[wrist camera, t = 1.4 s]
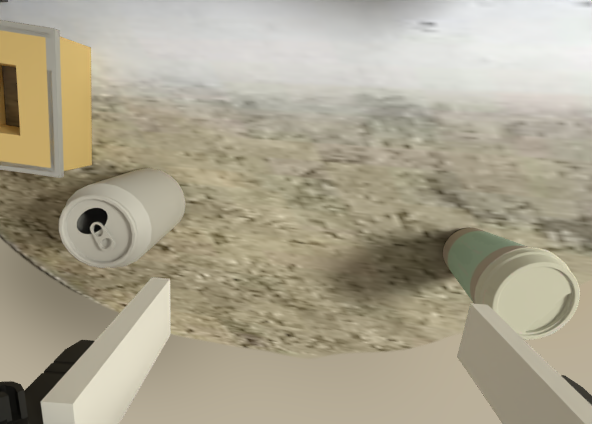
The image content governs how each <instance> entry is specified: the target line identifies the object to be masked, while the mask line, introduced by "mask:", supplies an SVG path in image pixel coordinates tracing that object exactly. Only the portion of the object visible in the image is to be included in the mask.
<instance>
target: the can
mask: <svg viewBox="0 0 592 424" xmlns="http://www.w3.org/2000/svg"><path fill="white" fill-rule="evenodd" d="M184 211H185V198H184V193H183V191H182V189H181V187H180V186H179V184H178V182H177V181H175V180H174V179H173V178H172V177H171V176H170V175H169V174H167V173H165V172H163V171H161V170H158V169H152V168H144V169H138V170H134V171H131V172H128V173H125V174H122V175H118V176H115V177H112V178H109V179H106V180H103V181H99V182H96V183H93V184H90V185H87V186H85V187H83V188H81V189H79V190H77V191H76V192H75V193H74V194H73V195H72V196H71V197H70V198H69V199H68V200H67V203H66V205H65V208H64V209H63V210H62V213H61V215H60V218H59V234H60V237H61V240H62V243H63V244H64V246H65V247H66V249H67V250H68V252H69V253H70V254H71V255H73V256H74V257H75V258H76V259H77V260H79V261H81V262H83V263H85V264H87V265H89V266H93V267H99V268H107V267H110V268H114V267H123V266H127V265H129V264H131V263H133V262H135V261H137V260H138V259H139V258H140V257H141V256H143V255H144V254H145V253H146V252H147V251H148V250H149V249H150V248H152V247H153V246H154V245H155V244H156V243H157V242H158V241H159V240H160V239H162V238H163V237H164V236H165V235H166V234H167V233H168V232H169V231H170V230H172V229H173V228H174V227H175V226H176V225H177V224H178V223H179V222H180V221H181V219H182V216H183V214H184Z"/></svg>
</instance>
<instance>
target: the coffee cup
mask: <svg viewBox="0 0 592 424" xmlns="http://www.w3.org/2000/svg"><path fill="white" fill-rule="evenodd" d="M443 259H444V262H445V264H446V265H447V266H448V268H449V269H450V271H451V272H452V274H453V275H454V276H455V278H456V279H457V280H458V282H459V283H460V285H461V286H462V287H463V289H464V290H465V292H466V293H467V294H468V296H469V297H470V298H471V300H472V301H473V303H474V304H485V305H488V306H490V307H491V308H492V309H493V310H494V311H495V312H496V313H497V314H498V315H499V316H500V317H501V318H502V319H503V320H504V321H505V322H506V323H507V324H508V325H509V326H510V327H511V328H512V329H513V330H514V331H515V332H516V333H517V334H518V335H519V336H521V337H522V338H523V339H524V340H532V339H539V338H543V337H545V336H548V335H550V334H552V333H554V332H556V331H558V330H559V329H560V328H562V327H563V326H564V325H565V324H566V323H567V322H568V321H569V320H570V319H571V317H572V316H573V314H574V313H575V311H576V309H577V306H578V303H579V298H580V290H579V285H578V282H577V280H576V278H575V276H574V275H573V274H572V273H571V271H570V269H569V268H568V266H567V265H566V264H565V263H564V262H563V261H562V260H561V259H560V258H558V257H557V256H556V255H555V254H553V253H551V252H549V251H547V250H544V249H541V248H534V247H527V246H524V245H521V244H518V243H516V242H513V241H510V240H507V239H505V238H502V237H499V236H496V235H494V234H491V233H488V232H485V231H482V230H480V229H476V228H464V229H461V230H459V231H457V232H455V233H454V234H452V235H451V236H450V237H449V238H448V240H447V241H446V243H445V245H444V248H443Z"/></svg>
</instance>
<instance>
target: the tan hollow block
mask: <svg viewBox="0 0 592 424" xmlns="http://www.w3.org/2000/svg"><path fill="white" fill-rule="evenodd" d="M2 65H3V66H9V67H16V74H17V90H18V106H19V122H20V127H16V126H9V125H6V116H5V102H4V88H3V75H2ZM89 165H92V128H91V48H90V47H87V46H85V45H82V44H79V43H76V42H74V41H71V40H68V39H65V38H63V37H60V32H59V30H57V29H54V28H48V27H41V26H35V25H29V24H22V23H16V22H10V21H3V20H0V170H8V171H15V172H22V173H29V174H36V175H44V176H51V177H58V178H61V177H64V171H66V170H71V169H75V168H80V167H84V166H89Z"/></svg>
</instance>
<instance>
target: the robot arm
mask: <svg viewBox="0 0 592 424" xmlns="http://www.w3.org/2000/svg"><path fill="white" fill-rule="evenodd" d="M169 336H170V279H165V278H153V277H152V278H151V279H150V280H149V281H148V283H147V284H146V285H145V286H144V287H143V288H142V289H141V290H140V291H139V293H138V294H137V295H136V296H135V297H134V298H133V299H132V300H131V301H130V303H129V304H128V305H127V306H126V307H125V308H124V309H123V310H122V311H121V313H120V314H119V315H118V316H117V317H116V318H115V319H114V320H113V322H112V323H111V324H110V325H109V326H108V327H107V328H106V329H105V331H104V332H103V333H102V334H101V335H100V336H99V337H98V338H97V339H96V340H95V341H90V340H81V341H79V342H77V343H76V344H74V345H72V346H71V347H69V348H67V349H65V350H64V352H63V353H62V354H60V356H58V358H57V359H56V360H55V361H54V363H52V364H51V365H50V366H49V367H48V368H47V369H46V370H45V371H44V373H42V374H41V375H40V376H39V377H38V378H37V379H36V380H35V381H34V382H33V383H32V384H31V385H30V386H29V387H28V388H27V389H26V390H25V391H24V389H23V388H22V386H21V384H18V383H15V382H0V424H119V423H120V421H121V419H122V418H123V416H124V414H125V413H126V411H127V409H128V407H129V406H130V404H131V402H132V400H133V399H134V397H135V395H136V393H137V392H138V390H139V388H140V387H141V385H142V383H143V381H144V380H145V378H146V376H147V374H148V373H149V371H150V369H151V367H152V366H153V364H154V362H155V360H156V359H157V357H158V355H159V354H160V352H161V350H162V348H163V347H164V345H165V343H166V341H167V340H168V338H169ZM457 357H458V359H459V360H460V362H461V363H462V365H463V366H464V368H465V369H466V370H467V372H468V373H469V375H470V376H471V378H472V379H473V381H474V382H475V384H476V385H477V387H478V388H479V389H480V391H481V393H482V394H483V396H484V397H485V398H486V400H487V401H488V403H489V404H490V406H491V407H492V409H493V410H494V412H495V413H496V415H497V416H498V417H499V419H500V421H501V422H502V423H503V424H592V396H591V395H590V394H589V393H588V392H587V391H586V390H585V389H584V388H583V387H581V386H580V385H578V384H577V383H575V382H574V381H572V380H571V379H569V378H568V377H566V376H564V375H560V374H559V373H558V372H557V371H555V369H553V367H551V366H550V365H549V364H548V363H547V362H546V361H545V360H544V359H543V358H542V357H541V356H540V355H539V354H538V353H537V352H536V351H535V350H534V349H533V348H532V347H531V346H530V345H529V344H528V343H527V342H526V341H525V340H524V339H523V338H522V337H521V336H519V335H518V334H517V333H516V332H515V331H514V330H513V329H512V328H511V327H510V326H509V325H508V324H507V323H506V322H505V321H504V320H503V319H502V318H501V317H500V316H499V315H498V314H497V313H496V312H495V311H494V310H493V309H492V308H491V307H490V306H488V305H485V304H473V303H471V304H470V308H469V311H468V315H467V319H466V323H465V327H464V331H463V335H462V339H461V343H460V347H459V351H458V355H457Z"/></svg>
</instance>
